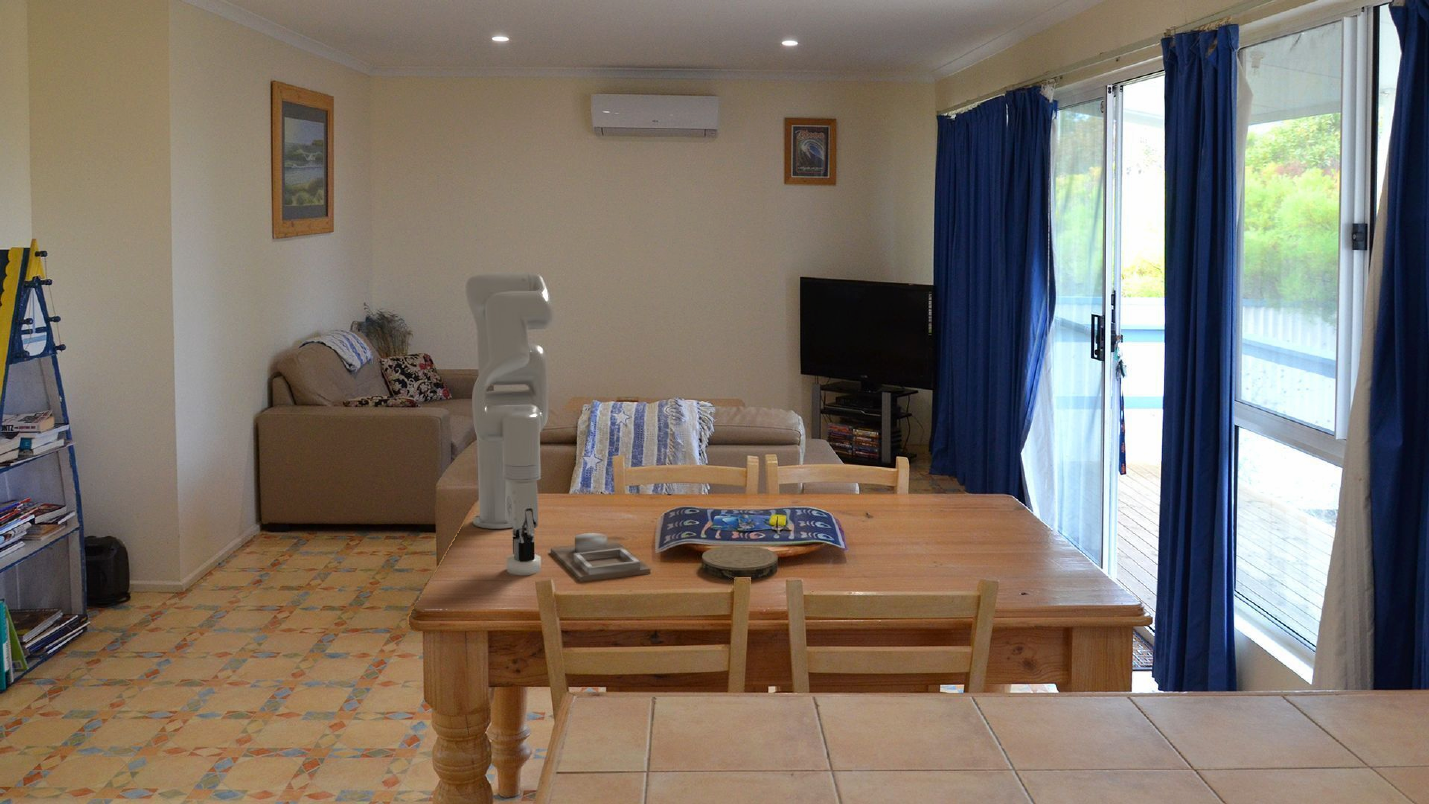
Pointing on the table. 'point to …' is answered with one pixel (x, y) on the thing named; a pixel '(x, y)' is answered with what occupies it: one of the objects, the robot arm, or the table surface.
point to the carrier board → (598, 558)
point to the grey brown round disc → (739, 562)
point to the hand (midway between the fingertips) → (523, 556)
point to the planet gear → (522, 563)
